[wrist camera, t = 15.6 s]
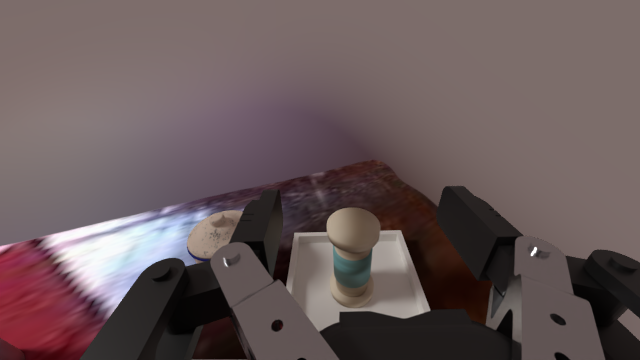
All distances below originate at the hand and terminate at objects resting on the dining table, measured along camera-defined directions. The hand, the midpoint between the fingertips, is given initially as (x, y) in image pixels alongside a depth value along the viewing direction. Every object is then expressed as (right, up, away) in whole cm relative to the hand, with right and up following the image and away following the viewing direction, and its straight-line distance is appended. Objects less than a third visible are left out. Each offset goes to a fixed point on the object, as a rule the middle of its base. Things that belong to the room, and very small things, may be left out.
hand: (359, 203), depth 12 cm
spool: (+2, -14, +22) cm, 26 cm away
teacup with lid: (-16, -13, +26) cm, 34 cm away
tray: (+3, -15, +22) cm, 27 cm away
